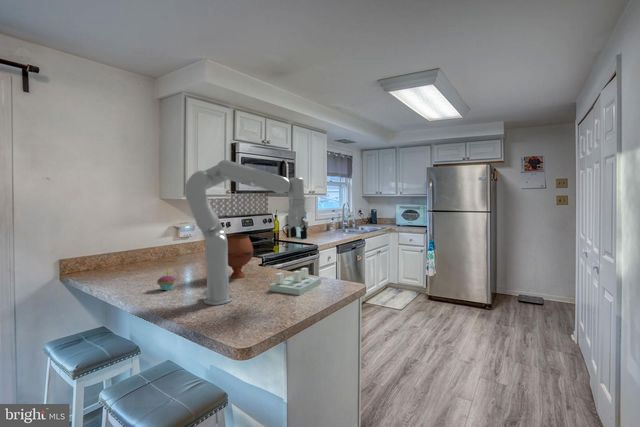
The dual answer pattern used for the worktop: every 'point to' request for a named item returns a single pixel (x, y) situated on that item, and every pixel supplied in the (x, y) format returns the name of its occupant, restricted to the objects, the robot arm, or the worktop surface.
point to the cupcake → (166, 281)
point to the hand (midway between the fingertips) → (298, 237)
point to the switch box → (295, 285)
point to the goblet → (238, 253)
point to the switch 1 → (279, 278)
